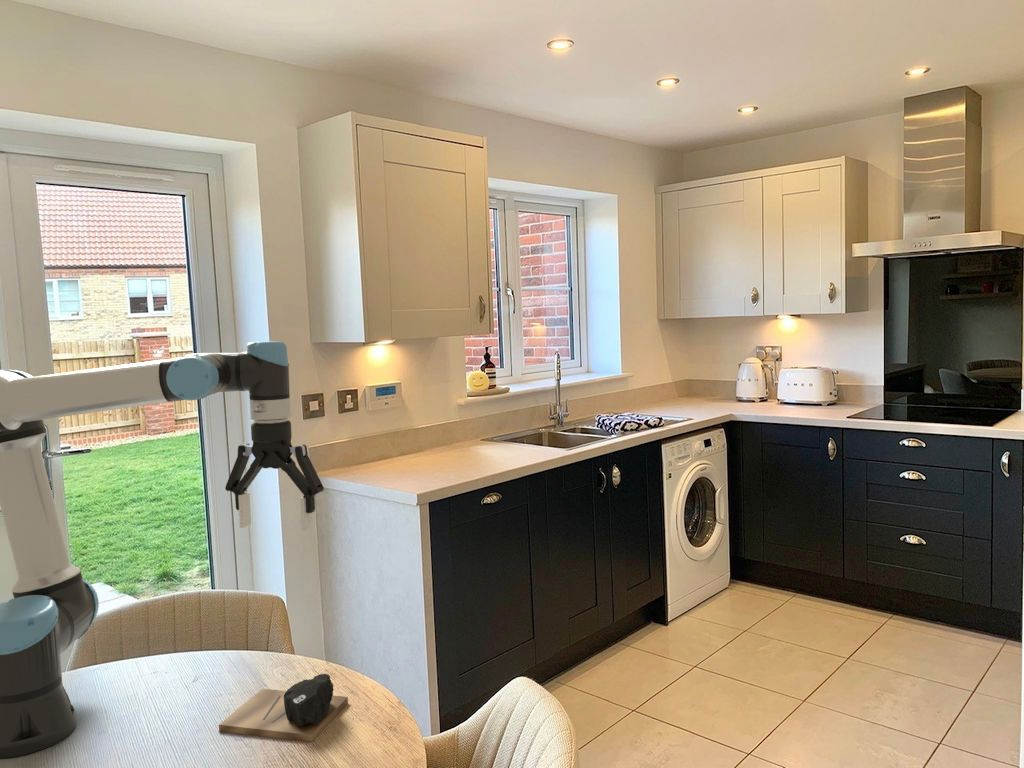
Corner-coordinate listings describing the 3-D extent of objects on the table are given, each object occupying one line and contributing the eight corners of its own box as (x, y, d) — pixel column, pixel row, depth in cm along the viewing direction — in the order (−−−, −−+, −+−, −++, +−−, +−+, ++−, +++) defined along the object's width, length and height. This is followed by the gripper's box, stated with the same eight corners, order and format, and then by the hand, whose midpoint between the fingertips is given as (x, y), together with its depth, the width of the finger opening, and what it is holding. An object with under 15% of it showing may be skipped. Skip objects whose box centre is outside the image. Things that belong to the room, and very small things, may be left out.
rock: (302, 734, 135) (301, 701, 134) (277, 712, 142) (276, 680, 142) (349, 717, 140) (348, 685, 140) (323, 697, 148) (322, 667, 148)
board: (219, 731, 139) (218, 724, 139) (262, 694, 153) (262, 688, 152) (311, 741, 135) (311, 734, 135) (347, 703, 148) (347, 696, 148)
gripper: (203, 422, 153) (209, 529, 155) (319, 423, 147) (324, 535, 148) (226, 417, 160) (231, 520, 162) (338, 418, 154) (342, 525, 155)
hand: (276, 527), depth 155 cm, fingers open, 13 cm apart
